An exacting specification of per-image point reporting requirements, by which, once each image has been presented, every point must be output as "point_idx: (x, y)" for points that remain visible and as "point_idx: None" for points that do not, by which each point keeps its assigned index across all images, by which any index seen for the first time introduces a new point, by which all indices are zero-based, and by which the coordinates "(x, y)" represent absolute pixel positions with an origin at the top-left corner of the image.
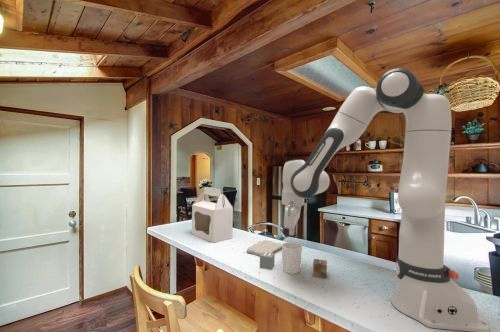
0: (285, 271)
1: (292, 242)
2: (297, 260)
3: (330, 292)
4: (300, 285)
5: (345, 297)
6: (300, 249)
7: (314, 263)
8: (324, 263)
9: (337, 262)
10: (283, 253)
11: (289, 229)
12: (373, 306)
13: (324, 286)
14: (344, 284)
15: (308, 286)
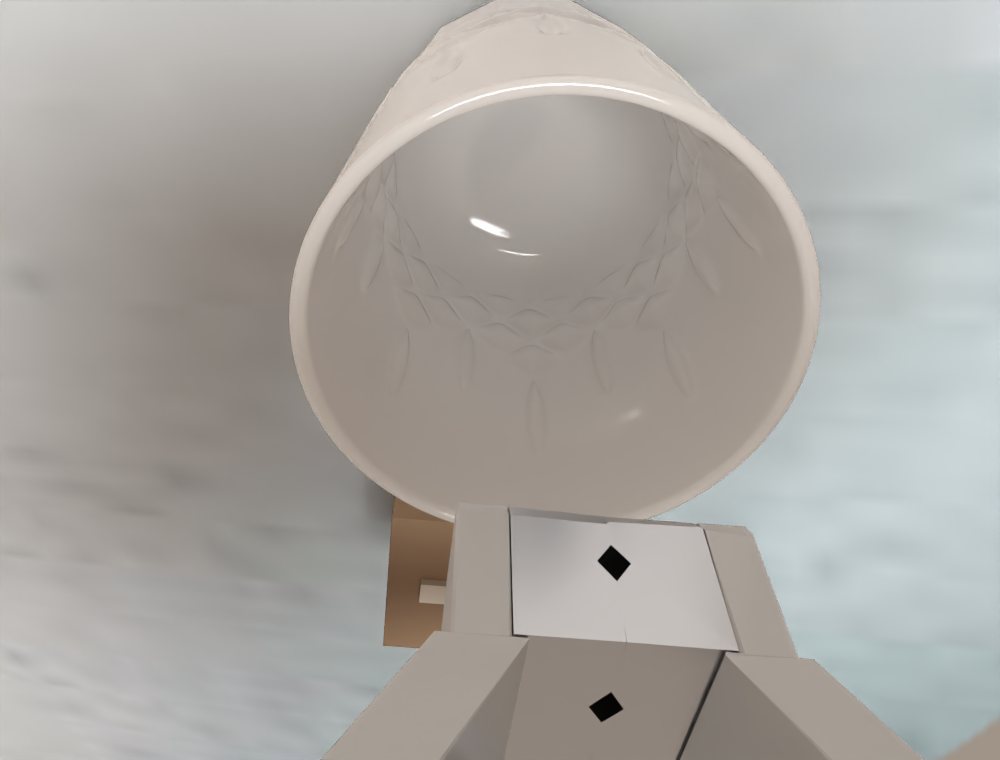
0: (425, 48)
1: (799, 355)
2: (406, 323)
3: (97, 529)
4: (92, 265)
5: (71, 617)
6: (427, 490)
7: (398, 532)
8: (440, 629)
9: (850, 649)
10: (413, 81)
11: (387, 698)
12: (40, 739)
13: (198, 494)
14: (321, 640)
15: (115, 351)
